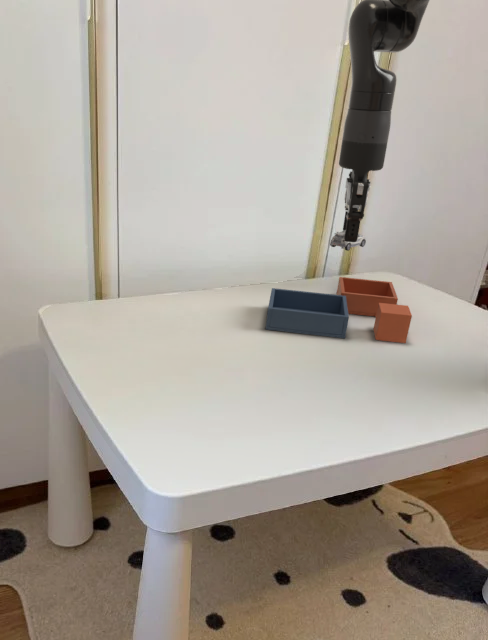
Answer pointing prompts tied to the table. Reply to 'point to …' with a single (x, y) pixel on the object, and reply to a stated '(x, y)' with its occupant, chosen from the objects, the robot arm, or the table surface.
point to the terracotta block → (392, 322)
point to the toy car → (340, 241)
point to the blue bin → (307, 313)
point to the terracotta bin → (366, 295)
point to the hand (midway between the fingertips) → (349, 236)
